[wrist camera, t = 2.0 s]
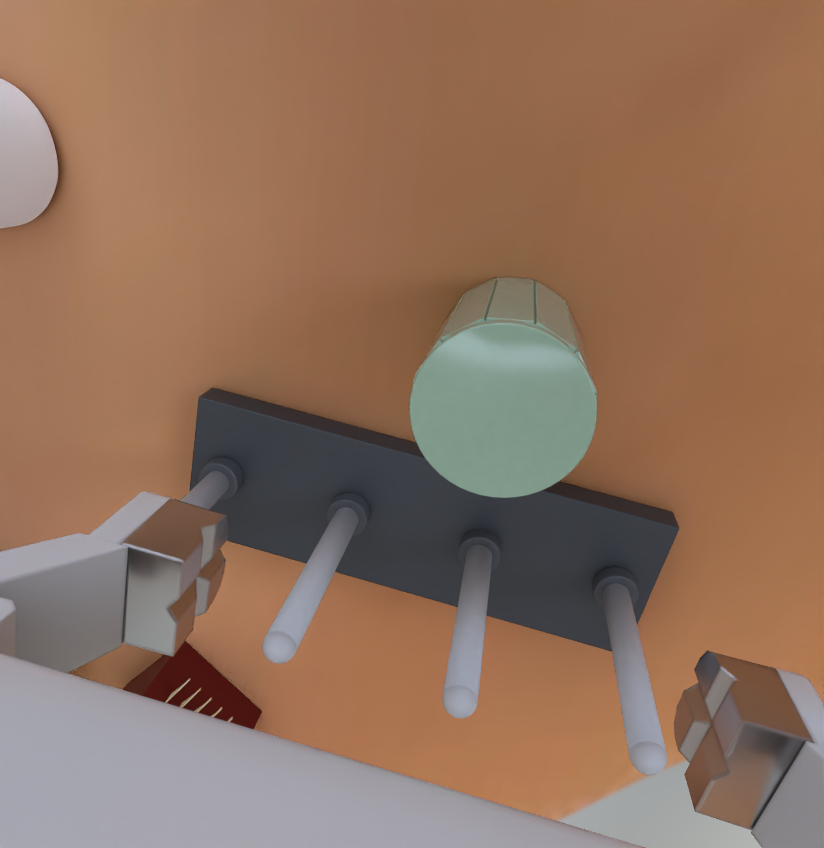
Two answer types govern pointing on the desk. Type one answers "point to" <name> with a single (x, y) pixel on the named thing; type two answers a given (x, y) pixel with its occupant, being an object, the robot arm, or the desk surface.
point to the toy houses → (194, 688)
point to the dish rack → (434, 543)
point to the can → (24, 159)
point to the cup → (505, 391)
